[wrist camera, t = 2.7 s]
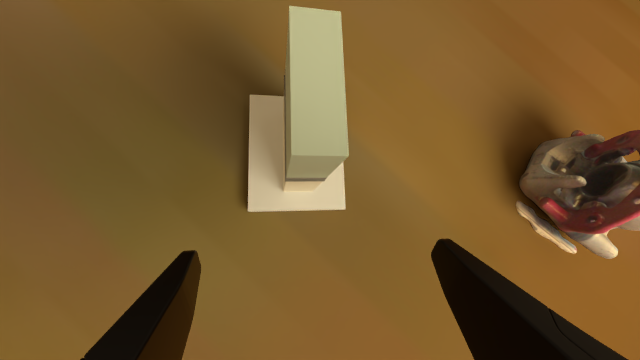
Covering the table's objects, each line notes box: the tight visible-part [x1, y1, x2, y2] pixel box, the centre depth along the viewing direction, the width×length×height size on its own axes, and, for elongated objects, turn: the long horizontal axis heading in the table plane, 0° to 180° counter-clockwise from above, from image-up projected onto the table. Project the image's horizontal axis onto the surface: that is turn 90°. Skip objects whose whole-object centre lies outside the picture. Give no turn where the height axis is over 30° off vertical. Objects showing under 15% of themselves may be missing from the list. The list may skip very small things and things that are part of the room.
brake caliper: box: [516, 130, 640, 259], centre depth 23 cm, size 11×11×12 cm
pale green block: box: [285, 6, 349, 179], centre depth 14 cm, size 7×2×5 cm, turn 2°
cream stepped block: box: [248, 75, 346, 212], centre depth 20 cm, size 10×8×6 cm
